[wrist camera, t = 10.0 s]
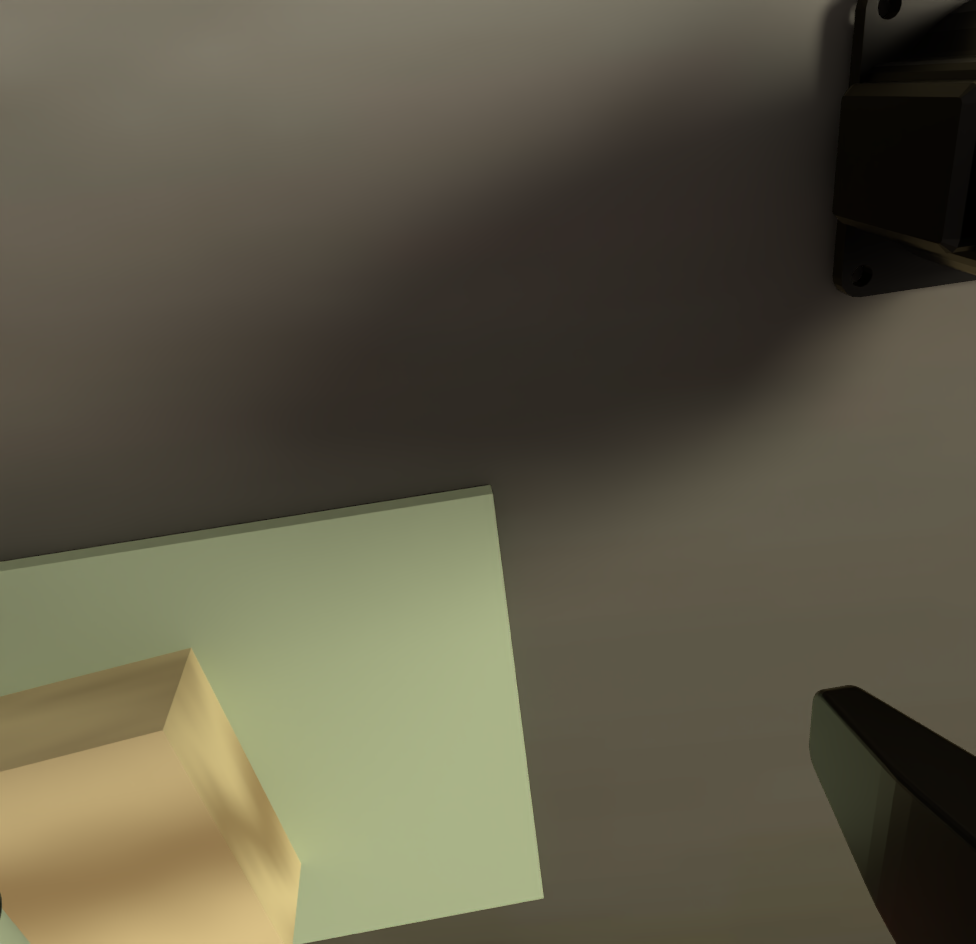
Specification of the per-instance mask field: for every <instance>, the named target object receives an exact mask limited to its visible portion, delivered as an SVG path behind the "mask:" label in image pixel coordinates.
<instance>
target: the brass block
mask: <svg viewBox="0 0 976 944" xmlns="http://www.w3.org/2000/svg"><path fill="white" fill-rule="evenodd" d="M300 871H301V862H300V860H299V858H298V856H297V854H296V852H295V850H294V848H293V847H292V845H291V843H290V841H289V839H288V837H287V835H286V833H285V831H284V829H283V827H282V825H281V823H280V821H279V819H278V817H277V815H276V813H275V811H274V809H273V807H272V805H271V803H270V801H269V799H268V797H267V795H266V793H265V792H264V790H263V788H262V786H261V784H260V782H259V780H258V778H257V776H256V774H255V772H254V770H253V768H252V766H251V764H250V762H249V760H248V758H247V756H246V754H245V752H244V750H243V748H242V746H241V744H240V742H239V740H238V738H237V737H236V735H235V733H234V731H233V729H232V727H231V725H230V723H229V721H228V719H227V717H226V715H225V713H224V711H223V709H222V707H221V705H220V703H219V701H218V699H217V697H216V695H215V693H214V691H213V689H212V687H211V685H210V683H209V682H208V680H207V678H206V676H205V674H204V672H203V670H202V668H201V666H200V664H199V662H198V660H197V658H196V656H195V654H194V652H193V650H192V648H188V649H184V650H180V651H176V652H172V653H168V654H164V655H160V656H157V657H153V658H149V659H145V660H141V661H137V662H133V663H129V664H125V665H121V666H117V667H114V668H110V669H106V670H102V671H98V672H94V673H90V674H86V675H82V676H78V677H75V678H71V679H67V680H63V681H59V682H55V683H51V684H47V685H43V686H39V687H35V688H32V689H28V690H24V691H20V692H16V693H12V694H8V695H4V696H0V893H1V897H2V909H3V910H4V911H5V913H6V914H7V915H8V916H9V918H10V919H11V920H12V921H13V923H14V924H15V925H16V926H17V927H18V929H19V930H20V931H21V932H22V934H23V935H24V936H25V937H26V938H27V940H28V941H29V942H30V943H31V944H293V936H294V927H295V918H296V908H297V899H298V889H299V880H300Z"/></svg>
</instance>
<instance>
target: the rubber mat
mask: <svg viewBox="0 0 976 944" xmlns="http://www.w3.org/2000/svg"><path fill="white" fill-rule="evenodd" d="M188 648H192V650H193V652H194V654H195V656H196V658H197V660H198V662H199V664H200V666H201V668H202V670H203V672H204V674H205V676H206V678H207V680H208V682H209V683H210V685H211V687H212V689H213V691H214V693H215V695H216V697H217V699H218V701H219V703H220V705H221V707H222V709H223V711H224V713H225V715H226V717H227V719H228V721H229V723H230V725H231V727H232V729H233V731H234V733H235V735H236V737H237V738H238V740H239V742H240V744H241V746H242V748H243V750H244V752H245V754H246V756H247V758H248V760H249V762H250V764H251V766H252V768H253V770H254V772H255V774H256V776H257V778H258V780H259V782H260V784H261V786H262V788H263V790H264V792H265V793H266V795H267V797H268V799H269V801H270V803H271V805H272V807H273V809H274V811H275V813H276V815H277V817H278V819H279V821H280V823H281V825H282V827H283V829H284V831H285V833H286V835H287V837H288V839H289V841H290V843H291V845H292V847H293V848H294V850H295V852H296V854H297V856H298V858H299V860H300V862H301V871H300V880H299V889H298V899H297V908H296V918H295V927H294V936H293V944H303V943H308V942H314V941H319V940H324V939H329V938H335V937H340V936H345V935H351V934H356V933H361V932H367V931H372V930H377V929H383V928H388V927H393V926H398V925H404V924H409V923H414V922H420V921H425V920H430V919H436V918H441V917H446V916H452V915H457V914H462V913H467V912H473V911H478V910H483V909H489V908H494V907H499V906H505V905H510V904H515V903H521V902H526V901H531V900H536V899H542V898H544V897H543V889H542V881H541V873H540V865H539V857H538V849H537V841H536V833H535V825H534V817H533V809H532V801H531V793H530V786H529V778H528V770H527V762H526V754H525V746H524V738H523V730H522V722H521V714H520V706H519V698H518V690H517V682H516V674H515V667H514V659H513V651H512V643H511V635H510V627H509V619H508V611H507V603H506V595H505V587H504V579H503V571H502V563H501V556H500V548H499V540H498V532H497V524H496V516H495V508H494V500H493V493H492V489H491V486H490V485H486V486H480V487H473V488H467V489H460V490H454V491H448V492H441V493H435V494H429V495H422V496H416V497H410V498H403V499H397V500H391V501H384V502H378V503H372V504H365V505H359V506H352V507H346V508H340V509H333V510H327V511H321V512H314V513H308V514H302V515H295V516H289V517H283V518H276V519H270V520H263V521H257V522H251V523H244V524H238V525H232V526H225V527H219V528H213V529H206V530H200V531H194V532H187V533H181V534H174V535H168V536H162V537H155V538H149V539H143V540H136V541H130V542H124V543H117V544H111V545H105V546H98V547H92V548H86V549H79V550H73V551H66V552H60V553H54V554H47V555H41V556H35V557H28V558H22V559H16V560H9V561H3V562H0V696H4V695H8V694H12V693H16V692H20V691H24V690H28V689H32V688H35V687H39V686H43V685H47V684H51V683H55V682H59V681H63V680H67V679H71V678H75V677H78V676H82V675H86V674H90V673H94V672H98V671H102V670H106V669H110V668H114V667H117V666H121V665H125V664H129V663H133V662H137V661H141V660H145V659H149V658H153V657H157V656H160V655H164V654H168V653H172V652H176V651H180V650H184V649H188ZM0 944H31V943H30V942H29V941H28V940H27V938H26V937H25V936H24V935H23V934H22V932H21V931H20V930H19V929H18V927H17V926H16V925H15V924H14V923H13V921H12V920H11V919H10V918H9V916H8V915H7V914H6V913H5V911H4V910H3V909H2V913H1V918H0Z"/></svg>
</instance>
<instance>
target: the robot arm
mask: <svg viewBox="0 0 976 944" xmlns="http://www.w3.org/2000/svg"><path fill="white" fill-rule="evenodd" d="M878 4H879V0H858V2H857V6H856V10H855V22H854V33H853V45H852V57H851V68H850V80H849V89H848V90H847V92H846V93H845V95H844V96H843V98H842V102H841V114H840V126H839V138H838V150H837V162H836V174H835V187H834V199H833V214H834V215H835V216H836V218H837V219H838V220H837V232H836V244H835V255H834V267H833V282H834V285H835V286H836V288H837V289H838V290H840V291H841V292H843V293H845V294H848V295H850V296H852V297H863V296H870V295H877V294H884V293H891V292H897V291H904V290H911V289H918V288H924V287H931V286H938V285H945V284H951V283H958V282H965V281H972V280H976V0H890V5H891V6H890V9H889V12H888V14H887V15H886V16H885V17H884V19H882V18H881V16H880V15H879V14H878ZM859 266H863V273H862V276H861V277H860V279H859V280H858V281H856V282H854V283H852V278H851V277H852V274H853V272H854V271H855V269H856V268H857V267H859ZM809 750H810V756H811V760H812V763H813V766H814V769H815V771H816V773H817V776H818V778H819V780H820V783H821V785H822V787H823V789H824V792H825V794H826V796H827V798H828V801H829V803H830V805H831V807H832V810H833V812H834V814H835V816H836V819H837V821H838V823H839V826H840V828H841V830H842V832H843V835H844V837H845V839H846V841H847V844H848V846H849V848H850V850H851V853H852V855H853V857H854V859H855V862H856V864H857V866H858V869H859V871H860V873H861V875H862V878H863V880H864V882H865V884H866V886H867V889H868V891H869V893H870V895H871V897H872V899H873V901H874V903H875V906H876V908H877V909H878V911H879V913H880V915H881V917H882V919H883V921H884V922H885V924H886V926H887V928H888V930H889V932H890V933H891V935H892V937H893V939H894V941H895V942H896V944H976V756H974V755H973V754H971V753H969V752H967V751H966V750H964V749H962V748H961V747H959V746H957V745H956V744H954V743H952V742H951V741H949V740H947V739H946V738H944V737H942V736H940V735H939V734H937V733H935V732H934V731H932V730H930V729H929V728H927V727H925V726H924V725H922V724H920V723H919V722H917V721H915V720H914V719H912V718H910V717H908V716H907V715H905V714H903V713H902V712H900V711H898V710H897V709H895V708H893V707H892V706H890V705H888V704H887V703H885V702H883V701H881V700H880V699H878V698H876V697H875V696H873V695H871V694H870V693H868V692H866V691H865V690H863V689H861V688H859V687H856V686H853V685H846V686H840V687H834V688H829V689H823V690H820V691H818V692H817V693H816V694H815V696H814V699H813V705H812V716H811V728H810V740H809ZM1 913H2V897H1V893H0V918H1Z"/></svg>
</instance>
